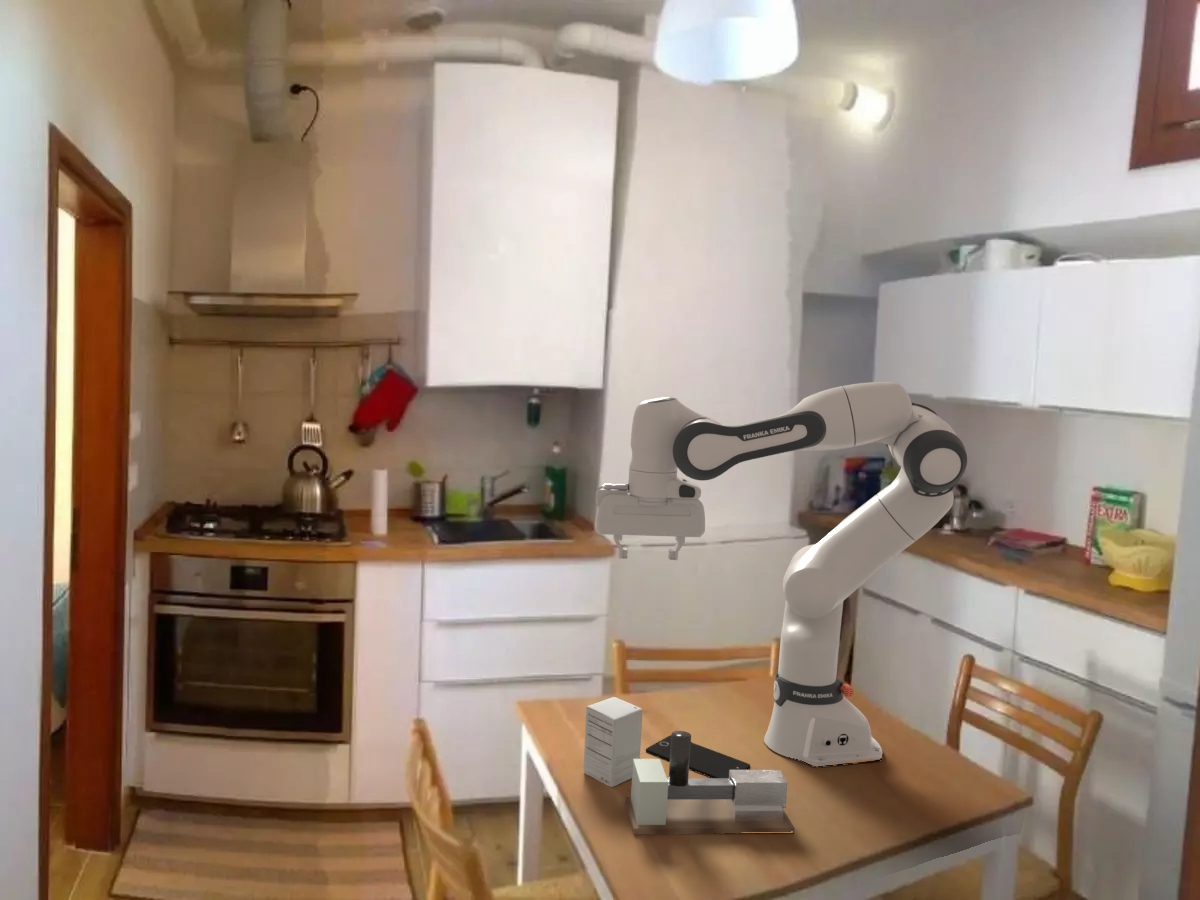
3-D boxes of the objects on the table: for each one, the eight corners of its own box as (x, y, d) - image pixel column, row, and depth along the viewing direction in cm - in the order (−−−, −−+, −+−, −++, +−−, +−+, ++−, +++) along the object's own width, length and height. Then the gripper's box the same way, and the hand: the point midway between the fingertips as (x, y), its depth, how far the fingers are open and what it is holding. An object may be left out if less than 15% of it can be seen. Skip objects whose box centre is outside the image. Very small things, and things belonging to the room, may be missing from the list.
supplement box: (610, 761, 170) (614, 695, 168) (640, 776, 165) (644, 708, 163) (581, 772, 165) (585, 705, 163) (610, 788, 159) (614, 718, 158)
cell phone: (670, 739, 181) (670, 734, 181) (751, 769, 170) (751, 764, 170) (644, 753, 174) (644, 748, 174) (726, 786, 163) (727, 780, 163)
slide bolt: (734, 790, 153) (739, 731, 152) (739, 800, 150) (744, 739, 149) (645, 790, 151) (649, 730, 150) (648, 800, 148) (652, 739, 147)
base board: (775, 802, 158) (776, 796, 158) (793, 833, 148) (794, 827, 148) (625, 802, 155) (625, 796, 155) (633, 834, 145) (634, 828, 145)
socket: (657, 799, 154) (659, 758, 153) (665, 824, 146) (668, 782, 146) (630, 799, 154) (633, 758, 153) (637, 825, 146) (640, 782, 145)
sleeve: (775, 802, 156) (778, 767, 155) (786, 821, 150) (789, 784, 149) (725, 802, 155) (728, 767, 154) (734, 821, 149) (737, 784, 148)
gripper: (597, 486, 165) (593, 561, 166) (709, 489, 167) (704, 564, 169) (594, 480, 171) (590, 553, 172) (702, 484, 173) (697, 556, 175)
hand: (647, 558), depth 171 cm, fingers open, 8 cm apart
